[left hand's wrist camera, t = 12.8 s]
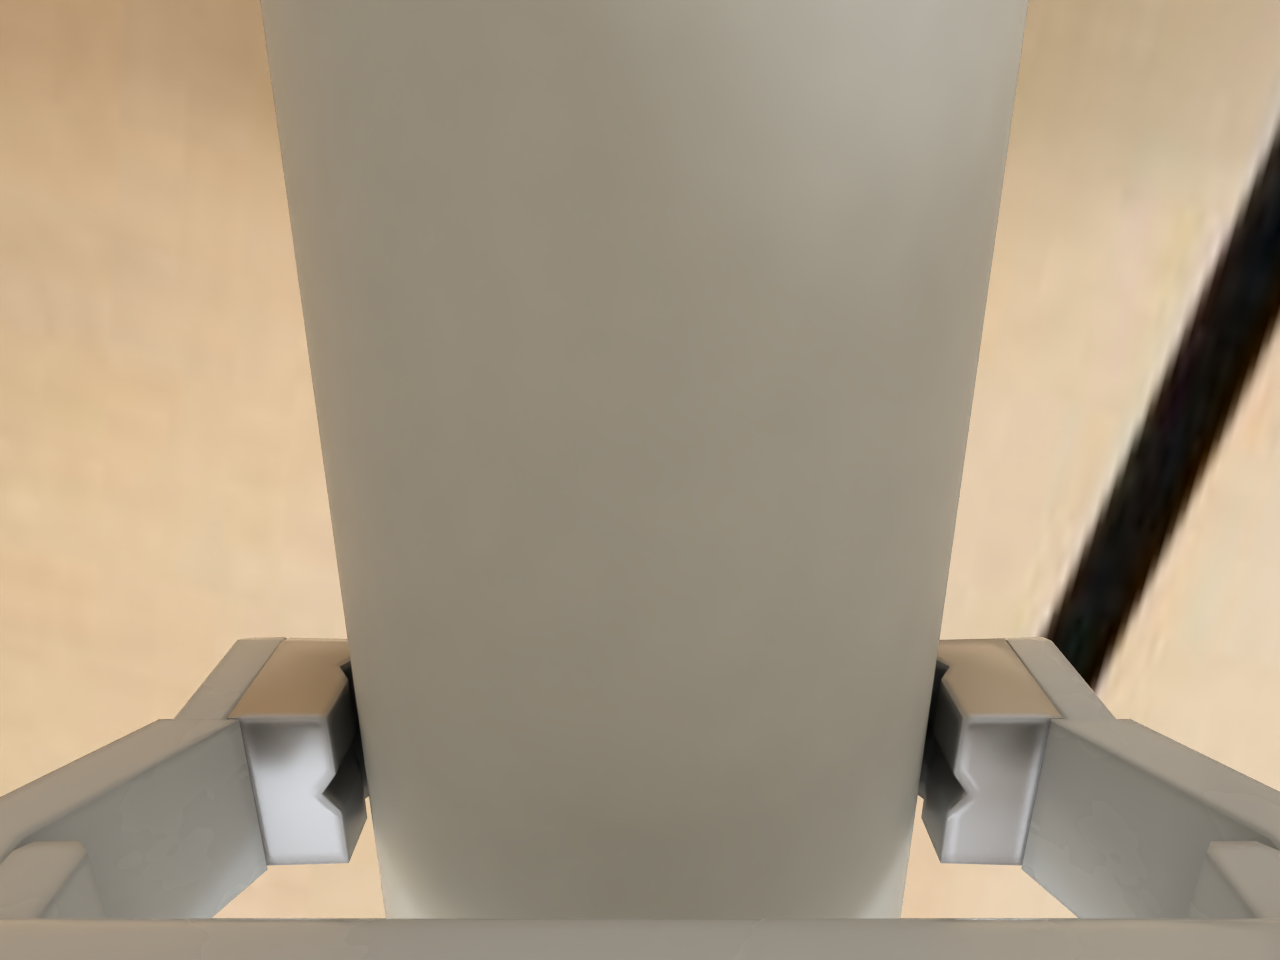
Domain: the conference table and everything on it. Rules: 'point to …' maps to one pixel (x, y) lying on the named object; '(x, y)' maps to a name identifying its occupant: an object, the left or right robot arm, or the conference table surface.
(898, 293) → the rod
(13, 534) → the conference table surface
